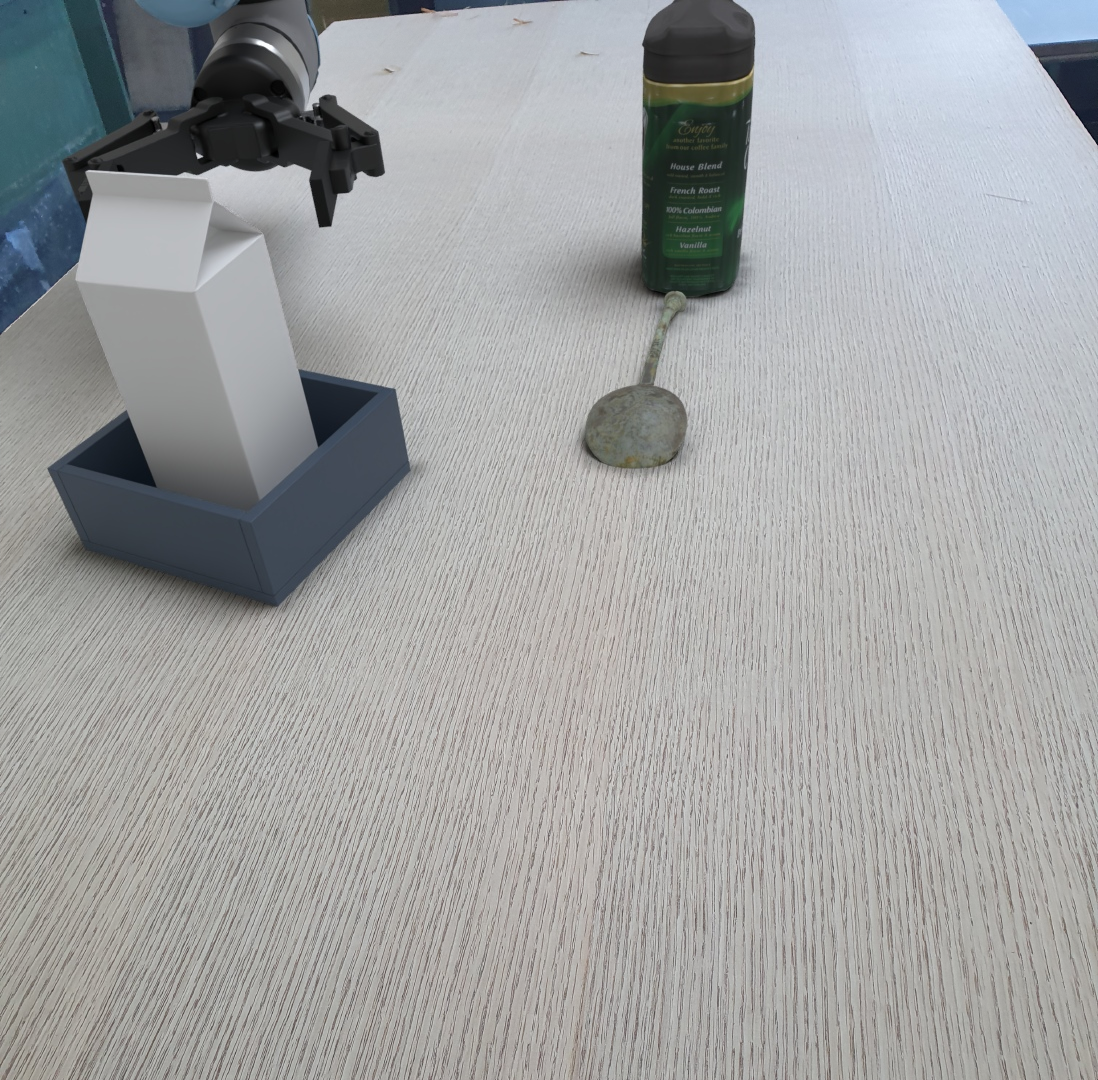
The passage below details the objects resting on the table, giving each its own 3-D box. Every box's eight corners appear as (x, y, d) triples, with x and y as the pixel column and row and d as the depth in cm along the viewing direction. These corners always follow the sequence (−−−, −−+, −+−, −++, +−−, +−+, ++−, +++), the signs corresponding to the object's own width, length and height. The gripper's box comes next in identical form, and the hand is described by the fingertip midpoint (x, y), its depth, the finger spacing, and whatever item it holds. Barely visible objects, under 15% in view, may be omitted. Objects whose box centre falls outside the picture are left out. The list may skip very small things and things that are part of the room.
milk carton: (271, 540, 63) (167, 207, 50) (169, 523, 65) (41, 198, 51) (325, 474, 68) (244, 152, 54) (229, 460, 70) (126, 145, 56)
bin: (86, 552, 66) (46, 468, 61) (232, 431, 74) (206, 350, 70) (278, 610, 60) (250, 522, 56) (411, 473, 69) (396, 388, 65)
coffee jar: (739, 302, 82) (758, 21, 69) (637, 302, 84) (636, 25, 70) (741, 249, 89) (759, -18, 75) (646, 249, 90) (647, -13, 77)
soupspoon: (575, 476, 69) (676, 488, 68) (574, 431, 66) (679, 443, 65) (634, 307, 83) (719, 314, 82) (636, 264, 80) (723, 271, 79)
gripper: (429, 140, 81) (424, 258, 66) (101, 169, 81) (24, 294, 66) (414, 24, 75) (405, 126, 61) (62, 56, 75) (-31, 165, 61)
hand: (206, 214), depth 63 cm, fingers open, 13 cm apart
